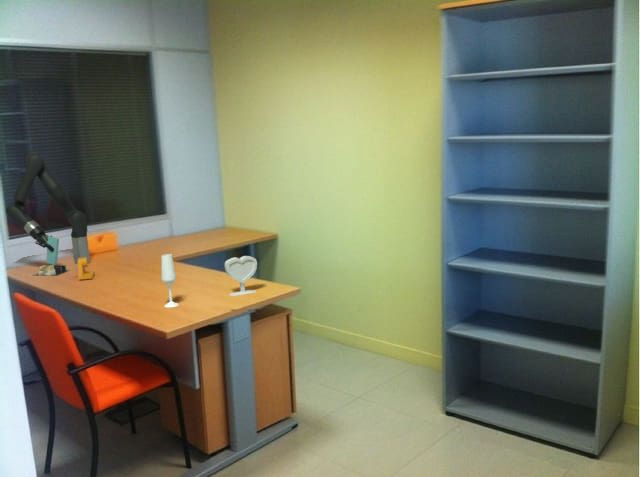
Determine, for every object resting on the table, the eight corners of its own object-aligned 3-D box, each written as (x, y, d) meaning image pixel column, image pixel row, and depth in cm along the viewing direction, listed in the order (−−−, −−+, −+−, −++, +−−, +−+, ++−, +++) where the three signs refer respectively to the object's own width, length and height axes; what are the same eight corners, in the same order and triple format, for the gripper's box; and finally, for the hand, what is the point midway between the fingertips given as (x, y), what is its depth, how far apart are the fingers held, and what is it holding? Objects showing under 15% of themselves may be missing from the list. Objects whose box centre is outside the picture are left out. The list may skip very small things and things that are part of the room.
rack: (32, 277, 356) (31, 270, 355) (47, 271, 369) (46, 265, 368) (56, 278, 352) (55, 271, 351) (70, 272, 365) (70, 265, 364)
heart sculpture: (229, 296, 298) (226, 260, 294) (226, 294, 302) (223, 258, 299) (259, 291, 304) (257, 256, 301) (255, 289, 309) (253, 254, 305)
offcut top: (39, 271, 355) (39, 266, 355) (43, 269, 359) (42, 265, 358) (50, 271, 354) (50, 266, 354) (54, 269, 358) (53, 265, 357)
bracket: (92, 279, 344) (90, 258, 342) (79, 281, 343) (76, 260, 341) (95, 275, 355) (92, 255, 353) (82, 276, 353) (79, 256, 351)
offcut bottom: (39, 275, 356) (38, 271, 356) (43, 273, 360) (43, 269, 359) (51, 275, 354) (50, 271, 354) (55, 273, 358) (55, 269, 357)
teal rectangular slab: (46, 262, 364) (48, 237, 360) (48, 261, 366) (50, 236, 362) (54, 265, 363) (56, 239, 359) (57, 264, 365) (59, 238, 361)
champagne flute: (161, 307, 286) (156, 256, 281) (169, 302, 292) (164, 253, 287) (173, 307, 283) (168, 257, 279) (181, 303, 289) (177, 253, 285)
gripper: (29, 227, 355) (50, 248, 354) (45, 223, 368) (65, 243, 367) (22, 236, 357) (43, 257, 357) (38, 232, 370) (59, 252, 370)
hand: (54, 250), depth 362 cm, fingers closed on teal rectangular slab, 2 cm apart
